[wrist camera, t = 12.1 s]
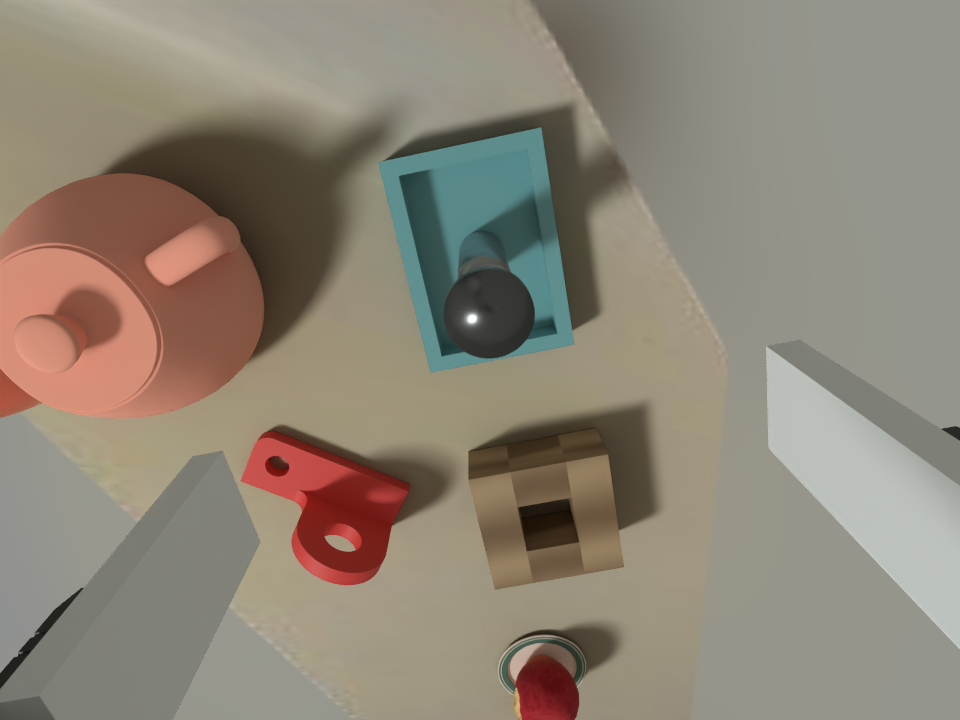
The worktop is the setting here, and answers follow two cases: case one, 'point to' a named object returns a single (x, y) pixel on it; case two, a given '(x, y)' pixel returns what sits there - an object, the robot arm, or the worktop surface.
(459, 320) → the pin
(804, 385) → the robot arm
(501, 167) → the tray
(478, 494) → the block
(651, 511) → the worktop surface
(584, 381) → the worktop surface
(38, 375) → the teapot
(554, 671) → the apple
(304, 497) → the bracket
